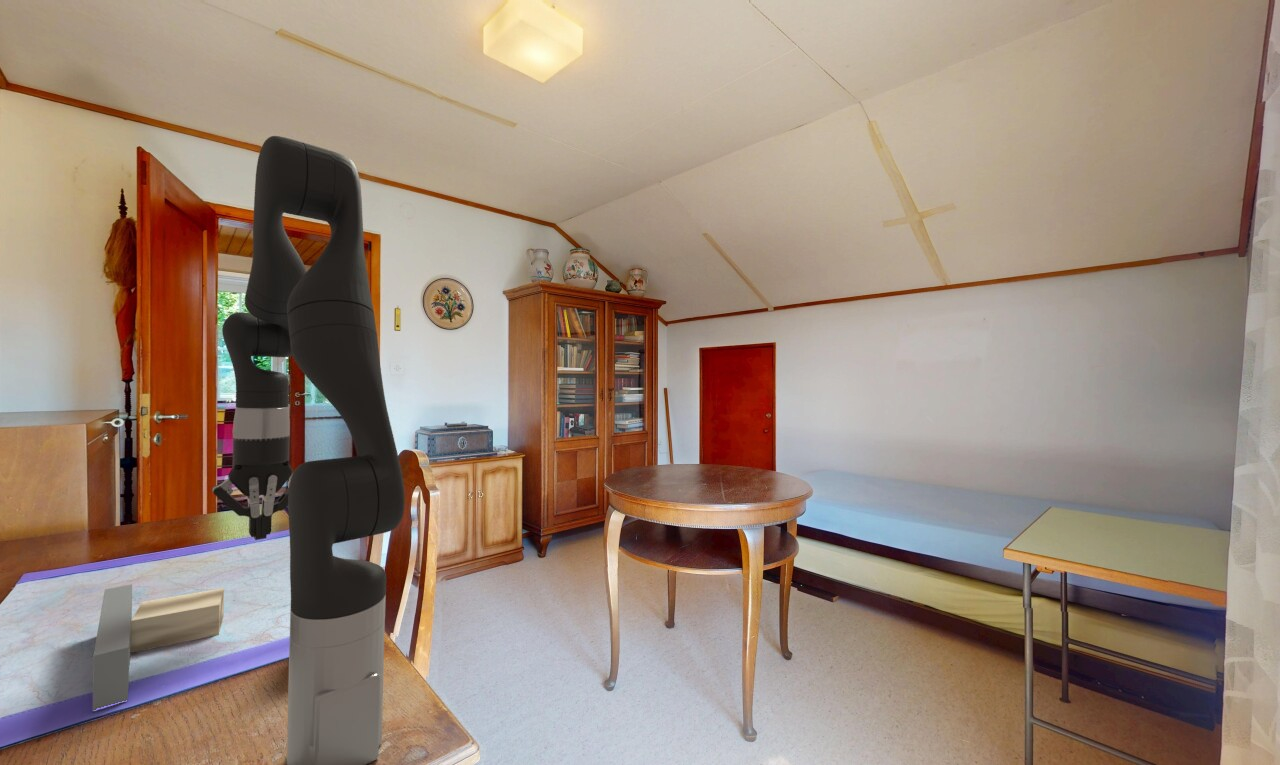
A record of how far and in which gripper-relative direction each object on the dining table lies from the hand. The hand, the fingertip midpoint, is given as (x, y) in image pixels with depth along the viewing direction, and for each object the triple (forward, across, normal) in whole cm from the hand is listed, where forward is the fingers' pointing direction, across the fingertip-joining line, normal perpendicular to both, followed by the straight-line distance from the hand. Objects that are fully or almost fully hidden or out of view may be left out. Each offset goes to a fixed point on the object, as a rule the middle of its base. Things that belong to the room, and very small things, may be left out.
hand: (260, 538), depth 83 cm
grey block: (+14, -17, -2) cm, 22 cm away
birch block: (+14, -10, +4) cm, 18 cm away
